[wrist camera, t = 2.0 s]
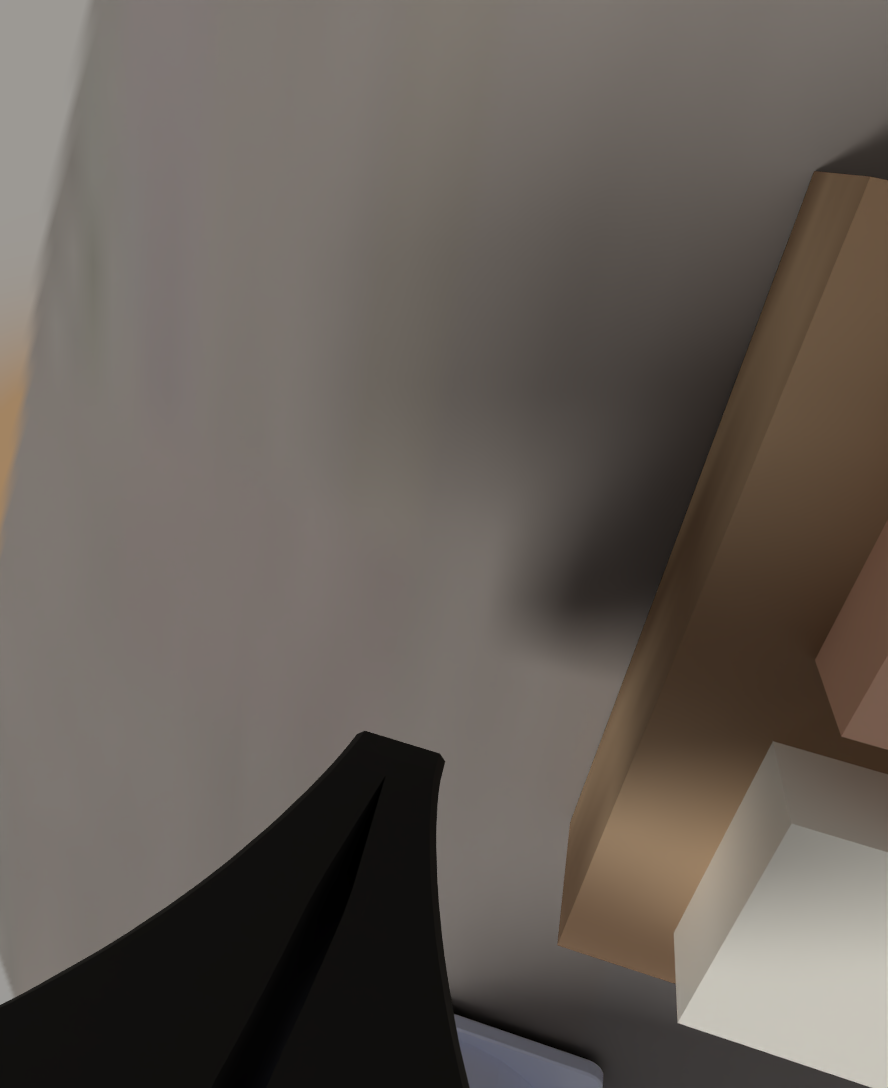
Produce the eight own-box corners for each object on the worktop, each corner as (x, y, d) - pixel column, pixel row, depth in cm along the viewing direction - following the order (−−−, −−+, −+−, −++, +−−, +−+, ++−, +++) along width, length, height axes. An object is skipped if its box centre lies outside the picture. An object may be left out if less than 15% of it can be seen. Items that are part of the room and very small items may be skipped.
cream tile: (940, 1018, 13) (976, 1122, 12) (674, 933, 13) (677, 1023, 12) (1096, 834, 11) (1164, 935, 9) (772, 741, 11) (791, 822, 10)
